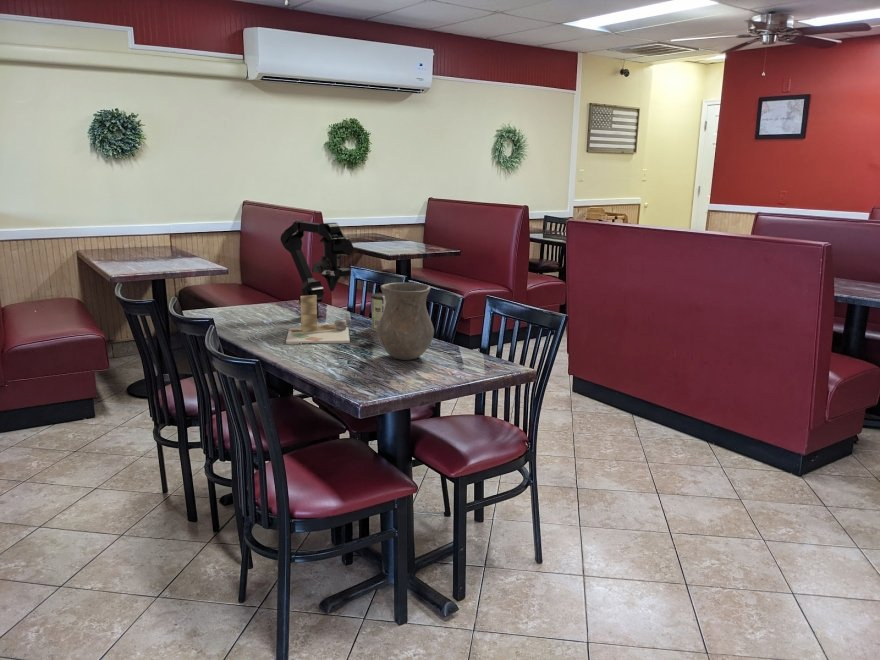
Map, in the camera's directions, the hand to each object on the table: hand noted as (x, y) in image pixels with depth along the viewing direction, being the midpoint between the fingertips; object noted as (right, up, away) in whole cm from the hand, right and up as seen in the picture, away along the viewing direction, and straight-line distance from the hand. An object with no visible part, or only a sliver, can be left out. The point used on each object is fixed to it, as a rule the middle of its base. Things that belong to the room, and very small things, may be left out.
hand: (331, 291), depth 288 cm
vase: (+33, -26, -50) cm, 65 cm away
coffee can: (+23, -16, -8) cm, 29 cm away
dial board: (-1, -19, -23) cm, 30 cm away
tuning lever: (-2, -16, -20) cm, 26 cm away
